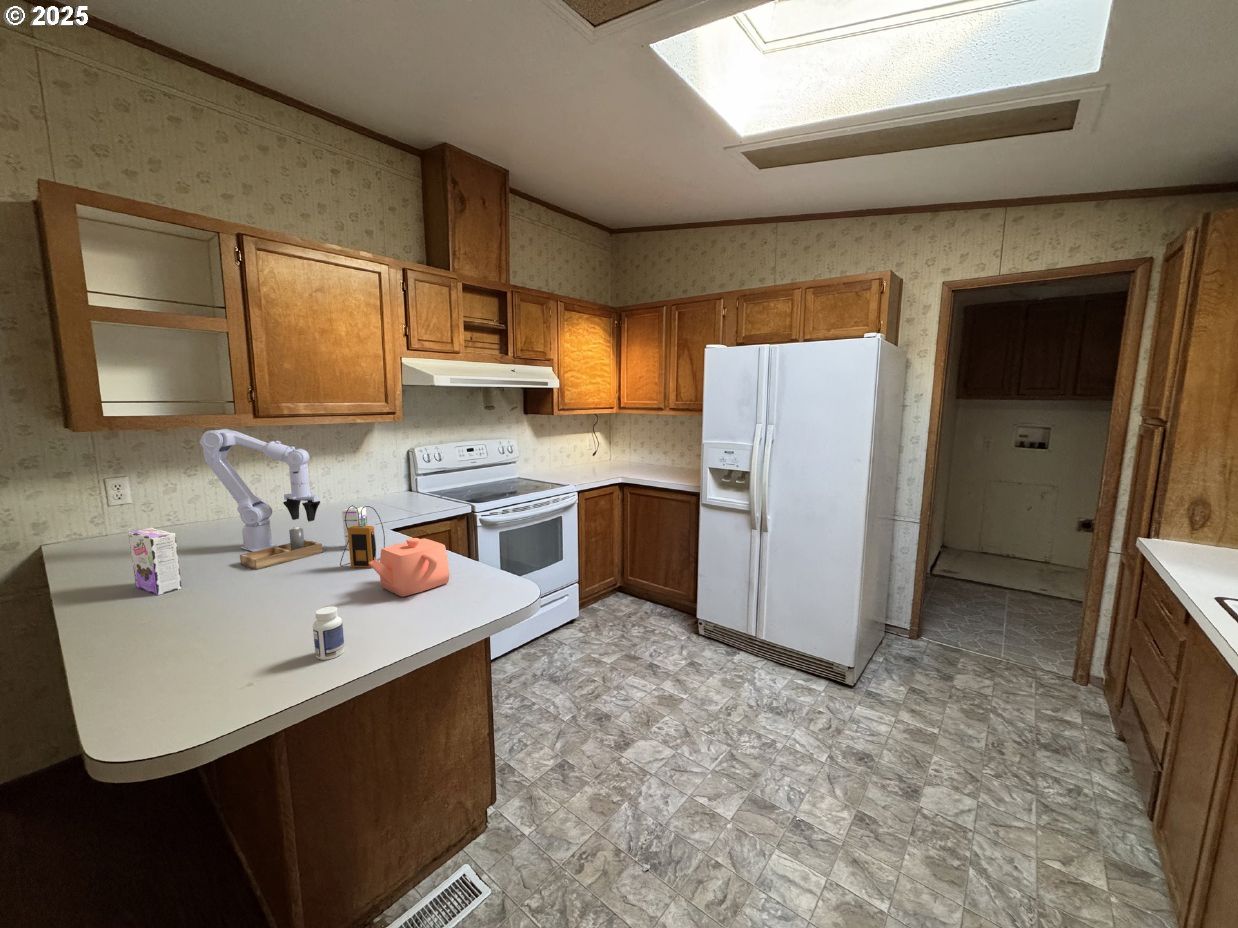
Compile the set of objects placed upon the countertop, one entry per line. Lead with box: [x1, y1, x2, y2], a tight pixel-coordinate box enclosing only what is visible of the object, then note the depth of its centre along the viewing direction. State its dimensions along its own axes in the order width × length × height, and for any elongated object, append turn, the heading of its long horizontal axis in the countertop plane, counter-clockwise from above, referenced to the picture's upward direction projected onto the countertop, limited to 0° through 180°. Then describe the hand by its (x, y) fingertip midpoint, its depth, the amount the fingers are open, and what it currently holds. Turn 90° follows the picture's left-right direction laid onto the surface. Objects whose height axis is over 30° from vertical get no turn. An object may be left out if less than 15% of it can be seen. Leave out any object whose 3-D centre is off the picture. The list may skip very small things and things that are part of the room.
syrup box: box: [341, 505, 368, 551], centre depth 183 cm, size 6×6×14 cm
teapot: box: [369, 537, 450, 598], centre depth 144 cm, size 20×22×14 cm
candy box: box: [127, 527, 183, 596], centre depth 146 cm, size 14×6×16 cm, turn 62°
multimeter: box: [339, 505, 386, 569], centre depth 166 cm, size 15×10×20 cm
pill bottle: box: [312, 606, 345, 661], centre depth 108 cm, size 5×5×10 cm
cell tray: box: [239, 539, 323, 570], centre depth 172 cm, size 11×20×3 cm, turn 148°
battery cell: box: [288, 526, 305, 551], centre depth 176 cm, size 4×4×9 cm
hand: (303, 520), depth 186 cm, fingers open, 7 cm apart
